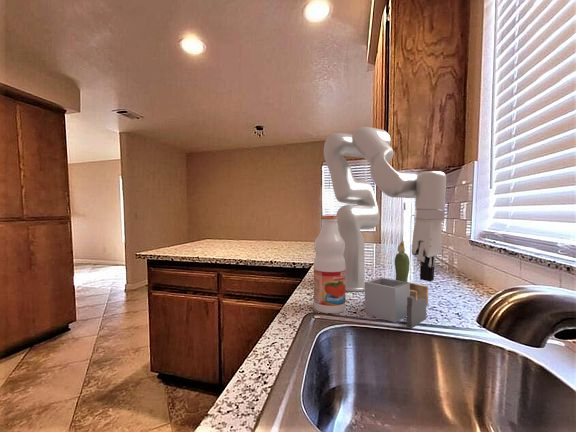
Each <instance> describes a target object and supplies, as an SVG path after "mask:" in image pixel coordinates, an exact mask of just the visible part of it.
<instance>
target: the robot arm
mask: <svg viewBox="0 0 576 432" xmlns="http://www.w3.org/2000/svg"><path fill="white" fill-rule="evenodd" d="M391 142H392V140H391V135H390V134H389V133H388V132H387V131H386V130H384V129H382V128H376V127H371V126H361V127H358V128H357V129H355V130H354V132H353V133H352V134H351V133H345V132H334V133H332V134H330V135H328V136H327V138H326V140H325V142H324V146H323V157H324V158H323V159H324V160H325V163H326V166H327V169H328V172H329V175H330V180H331V183H332V187H333V189H332V190H333V193H334V196H335V199H336V200H337V201H338V202H339V203H341V204H342V203H343V204H344V205H343V206H340V207H339V208H338V210H337V211H336V214H335V215H337V216H338V221H337V227H338V230H339V233H340V235H341V237H342V238H343V240H344V242H345V250H344V253H343V256H344V259H345V266H346V270H345V292H363V291H364V292H365V238H364V236H363V234H362V232H361V230H372V229H374V228H376V227H377V226H378V225H379V223H380V221H381V220H380V219H381V215H380V209H379V205H378V202H377V197H376V195H375V191H374V188H373V186H372V184H370V182H368V181H367V180H365V179H356V178H355V176H354V174H353V170H352V167H351V165H350V163H349V161H347V159H346V158H344V156H345V157H351V158H364V159H365V161H367V163H368V164H369V165H370V166H369V172H370V177H371V180H372V181H373V183H374V184H375V185H376V186H377V187H378V189H379V191H381V192H382V193H383V194H384V195H386V196H388V197H390V198H397V199H398V198H401V199H402V198H405V199H415V203H414V204H415V207H414V208H415V209H414V227H413V231H412V232H413V233H412V242H411V243H412V244H411V254H412V255H413V256H417V262H419V266H420V268H419V271H420V272H419V279H420V280H421V281H425V282H433V281H434V280H435V266H436V259H437V257H438V255H440V254H441V253H442V249H443V248H442V245H443V228H442V227H443V223H444V222H445V217H446V216H445V215H446V194H447V193H446V192H447V191H446V190H447V175H446V173H445V172H443V171H437V170H436V171H435V170H430V171H428V170H427V171H422V172H419V173H412V172H402V171H397V170H395V169H394V168H393V166H391V165H390V163H391V161H392V159H393V157H394V154H395V153H394V149H393V148H392V147H391Z"/></svg>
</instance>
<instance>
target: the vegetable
mask: <svg viewBox="0 0 576 432" xmlns="http://www.w3.org/2000/svg"><path fill="white" fill-rule="evenodd" d="M397 252H398V253H397V254H396V255H395V257H394V267H395V280H399V281H405V282H408V279H409V272H410V262H411V261H410V257H409V255H408V254H407V253H406V249H405V241H404V240H401V241H400V244H398V247H397Z"/></svg>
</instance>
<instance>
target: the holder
mask: <svg viewBox="0 0 576 432" xmlns="http://www.w3.org/2000/svg"><path fill="white" fill-rule="evenodd" d="M410 296H413V297H415V301H416V300H418V299H420V298H426V307H428V306H429V285H425V284H419V283H414V282H410Z"/></svg>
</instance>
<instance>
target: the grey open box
mask: <svg viewBox="0 0 576 432" xmlns="http://www.w3.org/2000/svg"><path fill="white" fill-rule="evenodd" d="M364 283H365V291H364V315H369V316H371V317H374V318H378V319H382V320H385V321H388V322H393V323H397V322H398V321H400V320H402V319H404V318H406V317H407V297H409V296H410V283H411V282H409V281H407V282H405V281H399V280H396V279H394V278H393V279H392V278H386V277H382V276H381V277H377V278H373V279H370V280H367V281H364Z"/></svg>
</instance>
